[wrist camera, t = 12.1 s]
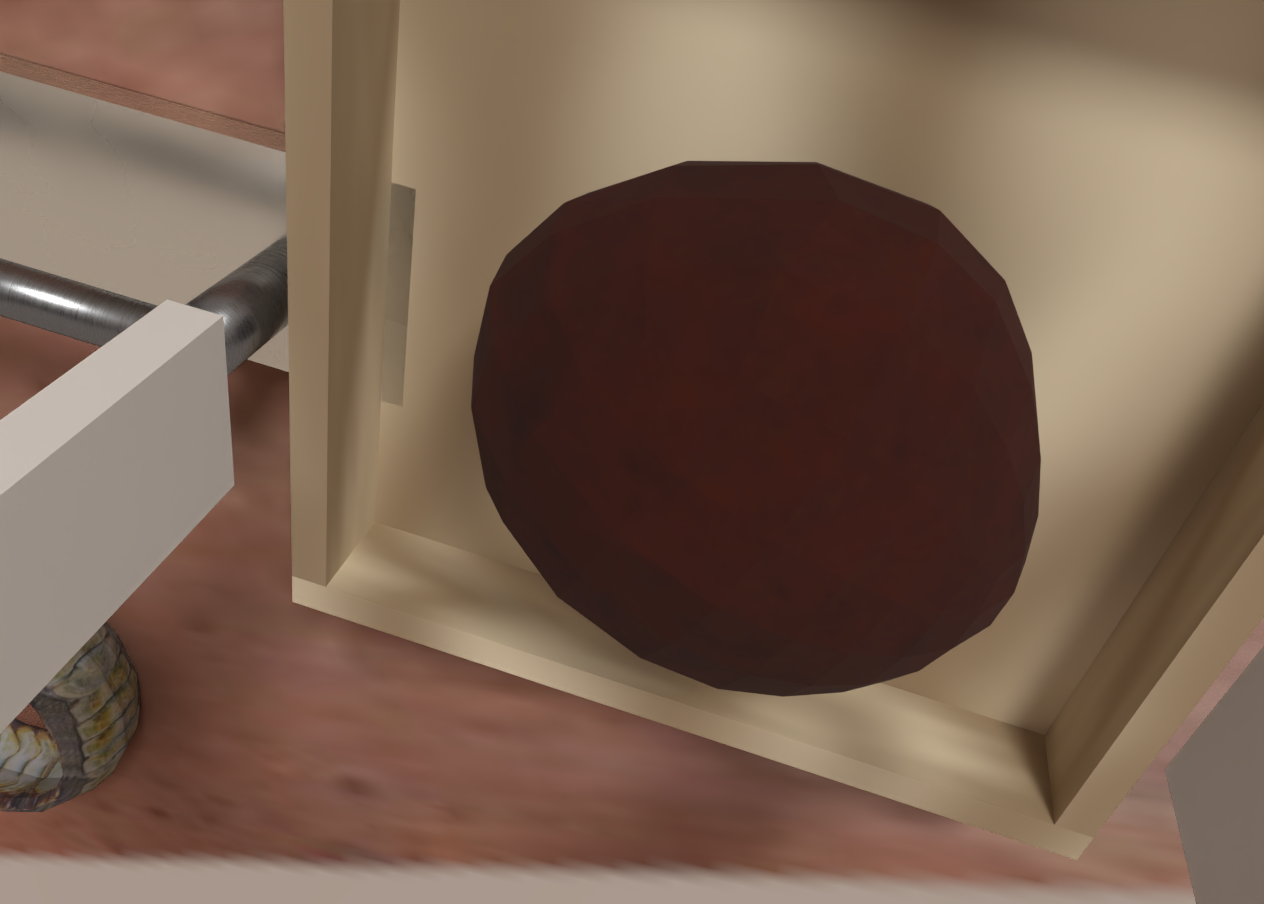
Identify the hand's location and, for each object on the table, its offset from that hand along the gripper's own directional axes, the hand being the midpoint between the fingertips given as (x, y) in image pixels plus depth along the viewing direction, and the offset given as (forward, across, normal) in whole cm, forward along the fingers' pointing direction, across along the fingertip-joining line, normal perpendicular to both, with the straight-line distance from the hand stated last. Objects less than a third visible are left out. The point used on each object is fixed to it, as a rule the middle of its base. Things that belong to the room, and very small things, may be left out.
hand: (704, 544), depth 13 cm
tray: (+8, 0, 0) cm, 8 cm away
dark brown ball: (+7, 0, 0) cm, 8 cm away
